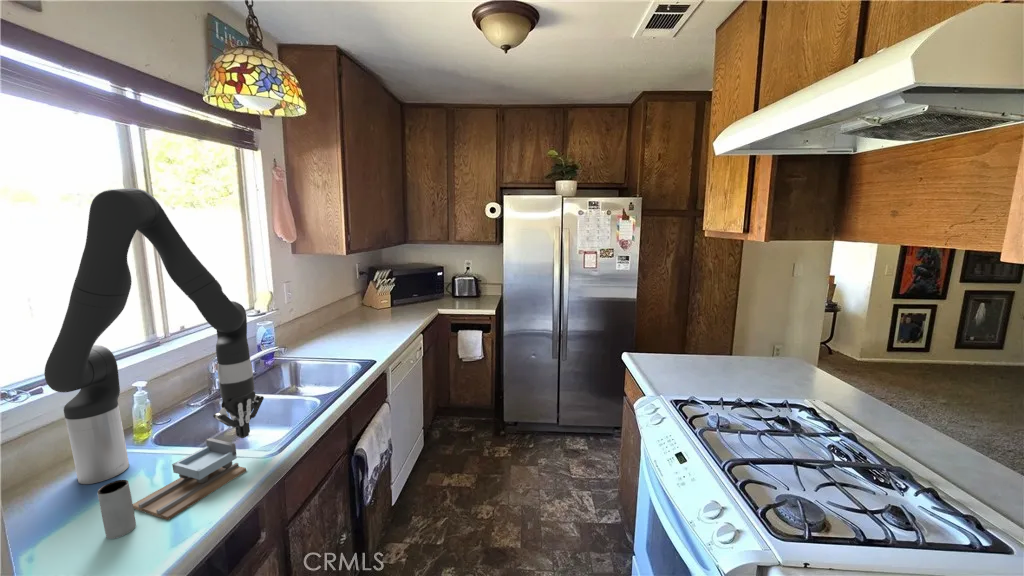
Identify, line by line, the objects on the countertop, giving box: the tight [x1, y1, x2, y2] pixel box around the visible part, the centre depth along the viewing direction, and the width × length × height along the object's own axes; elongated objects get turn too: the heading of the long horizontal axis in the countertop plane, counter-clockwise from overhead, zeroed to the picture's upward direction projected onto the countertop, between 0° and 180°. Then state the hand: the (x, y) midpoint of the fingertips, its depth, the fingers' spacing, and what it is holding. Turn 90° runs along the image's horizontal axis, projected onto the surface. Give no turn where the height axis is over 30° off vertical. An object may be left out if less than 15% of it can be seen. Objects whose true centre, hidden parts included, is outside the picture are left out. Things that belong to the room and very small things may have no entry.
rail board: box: [133, 462, 247, 521], centre depth 95 cm, size 12×18×2 cm, turn 162°
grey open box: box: [171, 437, 237, 484], centre depth 98 cm, size 9×9×6 cm
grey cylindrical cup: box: [96, 479, 137, 540], centre depth 81 cm, size 4×4×10 cm
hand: (243, 436), depth 107 cm, fingers closed
